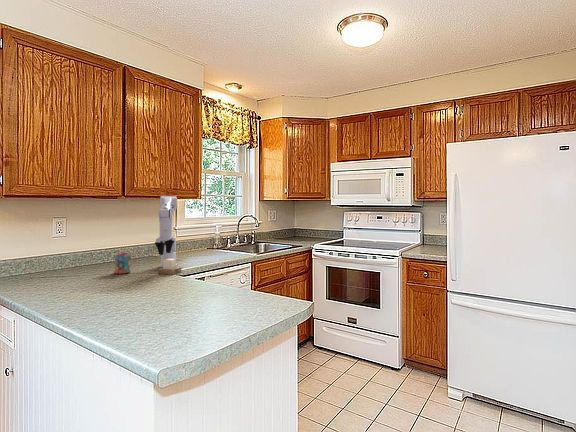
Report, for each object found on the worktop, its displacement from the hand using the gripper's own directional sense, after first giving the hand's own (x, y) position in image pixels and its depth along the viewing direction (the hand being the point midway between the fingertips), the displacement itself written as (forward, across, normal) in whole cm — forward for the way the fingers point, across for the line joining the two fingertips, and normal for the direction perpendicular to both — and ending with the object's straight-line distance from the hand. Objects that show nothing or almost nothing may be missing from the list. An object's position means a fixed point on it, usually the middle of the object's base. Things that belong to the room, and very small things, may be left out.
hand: (164, 253), depth 207 cm
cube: (+8, +1, +4) cm, 9 cm away
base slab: (+10, +1, +4) cm, 11 cm away
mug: (+10, +9, -19) cm, 24 cm away
